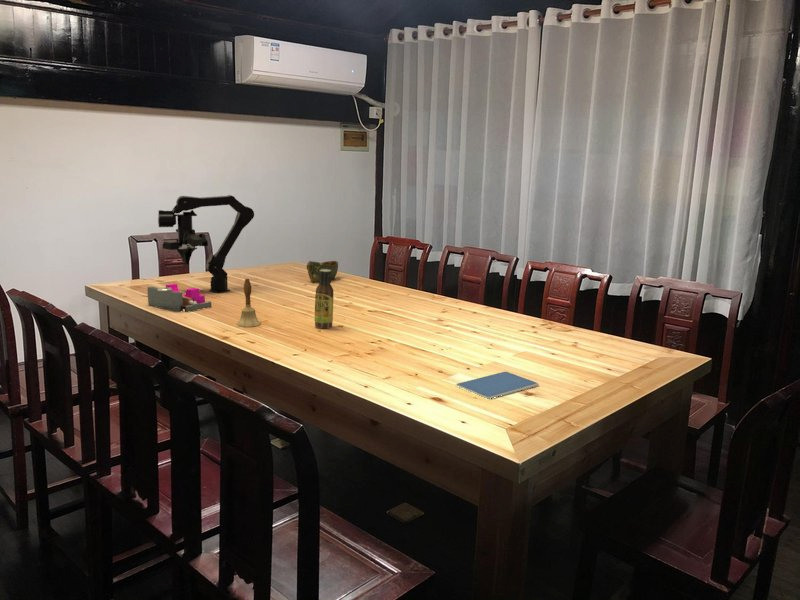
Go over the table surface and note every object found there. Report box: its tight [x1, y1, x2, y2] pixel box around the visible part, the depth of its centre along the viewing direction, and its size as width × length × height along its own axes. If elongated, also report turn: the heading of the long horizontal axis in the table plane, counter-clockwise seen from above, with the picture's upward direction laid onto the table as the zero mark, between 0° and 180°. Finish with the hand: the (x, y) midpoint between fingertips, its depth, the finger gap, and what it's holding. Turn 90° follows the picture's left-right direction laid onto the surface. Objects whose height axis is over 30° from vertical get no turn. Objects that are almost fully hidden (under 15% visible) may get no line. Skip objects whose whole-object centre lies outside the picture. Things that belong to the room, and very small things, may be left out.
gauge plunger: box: [182, 296, 197, 308], centre depth 247 cm, size 2×20×4 cm, turn 56°
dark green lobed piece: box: [306, 260, 339, 284], centre depth 308 cm, size 13×20×10 cm, turn 123°
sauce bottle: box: [314, 269, 334, 329], centre depth 222 cm, size 6×6×20 cm
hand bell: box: [236, 278, 262, 328], centre depth 223 cm, size 8×8×16 cm
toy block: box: [165, 283, 206, 304], centre depth 250 cm, size 15×6×8 cm, turn 56°
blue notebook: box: [455, 371, 540, 399], centre depth 170 cm, size 19×13×1 cm, turn 127°
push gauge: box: [147, 286, 212, 313], centre depth 248 cm, size 15×22×8 cm
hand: (186, 264), depth 270 cm, fingers closed
